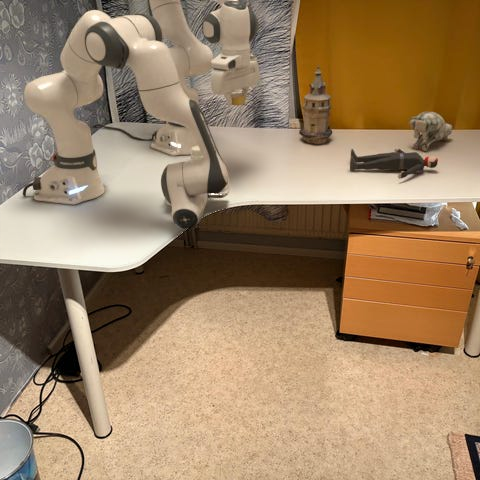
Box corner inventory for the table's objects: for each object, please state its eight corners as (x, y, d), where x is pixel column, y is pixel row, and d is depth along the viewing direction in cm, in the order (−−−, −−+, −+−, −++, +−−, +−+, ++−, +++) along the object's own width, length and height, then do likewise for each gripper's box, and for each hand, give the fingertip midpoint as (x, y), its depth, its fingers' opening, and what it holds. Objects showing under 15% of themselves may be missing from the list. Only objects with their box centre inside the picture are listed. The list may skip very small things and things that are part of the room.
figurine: (439, 162, 206) (463, 135, 215) (427, 119, 197) (453, 93, 206) (416, 162, 213) (441, 135, 222) (404, 120, 204) (430, 94, 213)
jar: (199, 199, 172) (196, 152, 165) (190, 194, 175) (187, 148, 168) (210, 194, 175) (208, 148, 167) (201, 190, 178) (199, 144, 170)
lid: (240, 106, 170) (240, 98, 169) (225, 104, 172) (225, 97, 171) (247, 101, 174) (247, 94, 173) (232, 100, 176) (232, 93, 175)
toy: (351, 141, 203) (434, 141, 197) (350, 156, 206) (432, 157, 200) (349, 166, 181) (443, 167, 175) (349, 183, 184) (441, 185, 178)
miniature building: (320, 132, 228) (325, 59, 214) (338, 142, 217) (344, 66, 203) (293, 137, 224) (296, 63, 209) (310, 147, 213) (314, 69, 198)
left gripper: (227, 186, 159) (231, 168, 171) (159, 185, 160) (168, 167, 172) (228, 205, 162) (231, 187, 174) (161, 204, 163) (169, 185, 175)
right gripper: (248, 52, 175) (249, 94, 182) (206, 62, 161) (208, 108, 168) (264, 54, 171) (263, 97, 178) (222, 65, 158) (223, 111, 164)
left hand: (199, 177), depth 173 cm, fingers closed on jar, 5 cm apart
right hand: (236, 102), depth 173 cm, fingers closed on lid, 5 cm apart
